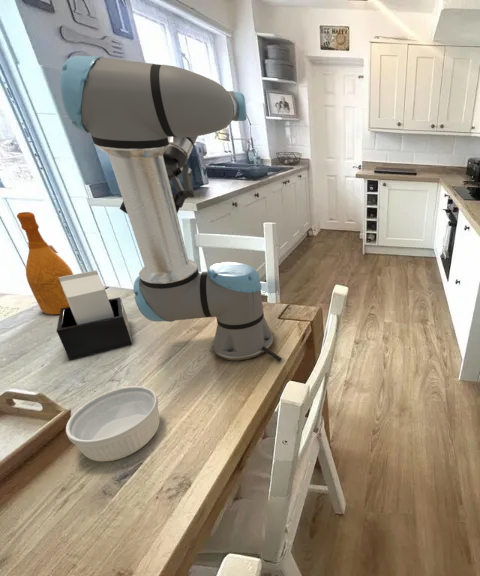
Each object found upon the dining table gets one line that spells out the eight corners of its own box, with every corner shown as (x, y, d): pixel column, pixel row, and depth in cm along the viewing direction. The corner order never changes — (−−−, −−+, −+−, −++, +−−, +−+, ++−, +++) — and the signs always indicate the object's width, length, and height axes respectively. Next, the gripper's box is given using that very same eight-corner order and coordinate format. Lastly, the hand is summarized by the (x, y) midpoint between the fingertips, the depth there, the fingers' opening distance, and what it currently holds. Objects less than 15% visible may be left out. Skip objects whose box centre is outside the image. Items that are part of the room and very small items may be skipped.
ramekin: (66, 479, 54) (50, 451, 51) (92, 420, 65) (80, 394, 62) (159, 454, 59) (149, 428, 56) (169, 403, 70) (162, 379, 67)
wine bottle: (90, 307, 102) (55, 212, 89) (48, 319, 95) (3, 218, 82) (77, 297, 107) (42, 206, 94) (36, 309, 99) (-8, 211, 86)
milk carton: (121, 338, 88) (100, 274, 80) (88, 349, 83) (61, 282, 75) (114, 327, 92) (93, 266, 84) (82, 337, 87) (56, 273, 79)
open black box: (132, 344, 87) (123, 316, 84) (69, 360, 80) (56, 330, 76) (129, 323, 96) (120, 297, 92) (72, 336, 89) (60, 308, 85)
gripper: (220, 164, 98) (198, 225, 91) (144, 158, 100) (116, 216, 93) (206, 146, 91) (181, 210, 84) (125, 139, 93) (93, 201, 86)
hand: (147, 214), depth 89 cm, fingers open, 13 cm apart
